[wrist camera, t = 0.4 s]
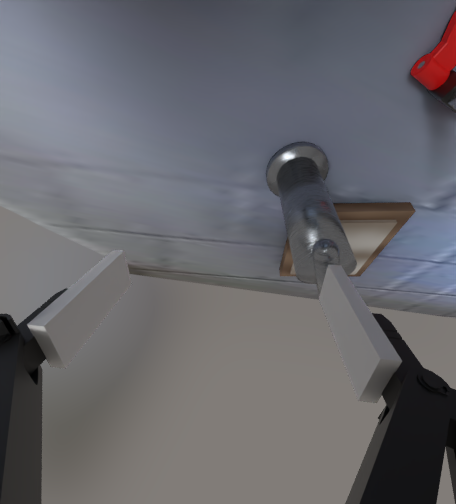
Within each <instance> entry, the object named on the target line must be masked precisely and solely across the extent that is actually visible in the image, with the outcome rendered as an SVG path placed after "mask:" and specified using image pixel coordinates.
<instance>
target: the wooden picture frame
mask: <svg viewBox="0 0 456 504" xmlns="http://www.w3.org/2000/svg"><path fill="white" fill-rule="evenodd" d="M333 205H334V207H335V210H336V212H337V215H338V217H339V220H340V222H341V225H342V227H343V229H344V232H345V234H346V237H347V239H348V242H349V244H350V247H351V249H352V252H353V254H354V257H355V259H356V262H357V266H356V268H355V270H354V271H353V272H352V273H351V274H350V275H348V276H361V274H362V273H363V272H364V271H365V270H366V269H367V267H368V266H369V265H370V264H371V263H372V262H373V260H374V259H375V258H376V257H377V256H378V254H379V253H380V252H381V251H382V250H383V249H384V247H385V246H386V245H387V244H388V243H389V242H390V240H391V239H392V238H393V237H394V236H395V235H396V233H397V232H398V231H399V230H400V229H401V228H402V226H403V225H404V224H405V223H406V222H407V221H408V219H409V218H410V217H411V216H412V215H413V213H414V212H415V209H414V208H413V206H412V204H411V203H410V202H404V203H337V204H333ZM279 270H280V276H296V273H295V269H294V264H293V259H292V254H291V249H290V244H289V239H288V237H287V241H286V245H285V249H284V253H283V257H282V261H281V265H280V269H279Z"/></svg>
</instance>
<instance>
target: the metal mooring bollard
mask: <svg viewBox="0 0 456 504" xmlns="http://www.w3.org/2000/svg"><path fill="white" fill-rule="evenodd" d="M327 173H328V161H327V158H326V156H325V154H324V152H323V151H322V150H321V148H319V147H318V146H317V145H315V144H312V143H309V142H296V143H292V144H290V145H287V146H285V147H283V148H282V149H280V150H279V151H278V152H277V153H276V154H275V155H274V156H273V157H272V158H271V160H270V162H269V164H268V166H267V170H266V177H267V183H268V186H269V188H270V190H271V191H272V192H273V193H274V194H275V195H277V196H279V197H280V200H281V205H282V210H283V215H284V220H285V225H286V230H287V234H288V239H289V244H290V249H291V254H292V259H293V264H294V269H295V273H296V277H297V278H298V279H299V280H300V281H302V282H304V283H308V284H317V288H318V294H319V296H320V292H321V289H322V285H323V282H324V278H325V274H326V271H327V267H328V265H341V266H342V268H343V269H344V271H345V273H346V274H347V276H348V275H350V274H351V273H352V272H353V271H354V270H355V268H356V266H357V262H356V259H355V257H354V254H353V252H352V249H351V247H350V244H349V242H348V239H347V237H346V234H345V232H344V229H343V227H342V225H341V222H340V220H339V217H338V215H337V212H336V210H335V207H334V205H333V202H332V200H331V198H330V195H329V193H328V190H327V188H326V185H325V183H324V180H325V178H326V176H327Z"/></svg>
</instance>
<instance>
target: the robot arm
mask: <svg viewBox="0 0 456 504" xmlns="http://www.w3.org/2000/svg"><path fill="white" fill-rule="evenodd" d="M131 284H132V283H131V279H130V274H129V270H128V265H127V261H126V256H125V252H124V251H123V250H112V251H111V252H110V253H109V254H108V255H107V256H106V257H104V259H102V260H101V261H100V262H99V263H97V264H96V265H95V266H94V267H93V268H92V269H91V270H89V271H88V272H87V273H86V274H85V275H84V276H82V277H81V278H80V279H79V280H78V281H77V282H76V283H74V284H73V285H72V286H71V287H70V288H69V289H64V290H62V291H60V292H58V293H56V294H55V295H54V296H52V297H51V298H50V299H49V300H48V301H47V302H45V303H44V304H43V305H42V306H41V307H40V308H38V309H37V310H36V311H34V312H33V313H32V314H31V315H30V316H28V317H27V318H26V319H25V320H24V321H22V322H21V323H20V324H19V325H18V326H17V325H16V324H15V322H14V320H13V318H12V317H11V316H10V315H8V314H0V504H41V470H42V462H41V461H42V460H41V459H42V455H41V454H42V368H41V366H40V364H41V363H42V362H43V361H44V360H45V359H46V360H47V361H48V363H49V365H50V366H51V367H58V368H66V367H67V366H68V365H69V363H70V362H71V361H72V360H73V358H74V357H75V356H76V355H77V353H78V352H79V351H80V349H81V348H82V347H83V346H84V344H85V343H86V342H87V340H88V339H89V338H90V336H91V335H92V334H93V333H94V332H95V330H96V329H97V328H98V326H99V325H100V324H101V323H102V321H103V320H104V319H105V317H106V316H107V315H108V313H109V312H110V311H111V310H112V309H113V307H114V306H115V305H116V303H117V302H118V301H119V300H120V298H121V297H122V296H123V294H124V293H125V292H126V291H127V289H128V288H129V287H130V285H131ZM319 301H320V303H321V306H322V309H323V311H324V314H325V316H326V319H327V321H328V324H329V327H330V329H331V332H332V334H333V337H334V340H335V342H336V345H337V347H338V350H339V353H340V355H341V358H342V360H343V363H344V365H345V368H346V370H347V373H348V376H349V378H350V381H351V384H352V386H353V389H354V391H355V394H356V397H357V399H358V401H364V402H373V403H377V402H378V400H379V398H380V397H381V395H382V396H383V398H384V400H385V402H386V404H387V405H386V407H385V408H384V409H383V411H382V413H381V414H380V416H379V417H378V419H379V422H378V425H377V427H376V430H375V432H374V435H373V437H372V440H371V442H370V444H369V447H368V449H367V452H366V454H365V457H364V459H363V462H362V464H361V467H360V469H359V471H358V474H357V476H356V479H355V482H354V484H353V486H352V489H351V491H350V494H349V496H348V499H347V501H346V503H345V504H436V502H437V495H438V489H439V483H440V477H441V471H442V464H443V458H444V452H445V446H446V451H447V457H448V463H449V469H450V475H451V480H452V487H453V493H454V499H455V504H456V390H455V389H452V388H450V387H449V385H448V384H447V383H446V382H445V381H444V380H443V379H442V378H441V377H439V376H438V375H436V374H435V373H433V372H432V371H429V370H427V369H425V368H423V367H422V365H421V364H420V362H419V361H418V360H417V358H416V357H415V355H414V354H413V353H412V351H411V350H410V348H409V347H408V346H407V344H406V343H405V341H404V340H402V337H401V336H400V334H399V333H397V330H396V329H395V327H394V326H393V325H392V323H391V322H390V321H389V320H388V319H386V318H385V317H384V316H383V315H382V314H374V313H371V311H370V310H369V308H368V307H367V305H366V304H365V302H364V301H363V299H362V297H361V296H360V294H359V293H358V291H357V290H356V288H355V287H354V285H353V283H352V282H351V280H350V279H349V277H348V276H347V274H346V273H345V271H344V269H343V268H342V266H341V265H328V267H327V271H326V274H325V278H324V282H323V285H322V289H321V292H320V296H319Z"/></svg>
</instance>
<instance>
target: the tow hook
mask: <svg viewBox="0 0 456 504" xmlns="http://www.w3.org/2000/svg"><path fill="white" fill-rule="evenodd" d="M455 66H456V11H455V12H454V14H453V16H452V18H451V20H450V22H449V24H448V26H447V29H446V31H445V33H444V35H443V37H442V40H441V42H440V43H439V44H438V45H437V46H436V47H435V48H434V50H433V51H432V52H431V53H430V54H426V55H424V56H423V57H421V58H420V59H419V60H418V61H417V62H416V63H415V65H414V66H413V68H412V70H411V75H412V76H413V77H414V78H415V79H417V80H418V81H419V82H420V83H421V84H423V85H424V86H425V87H426V88H427V91H428V92H429V93H430V94H432V95H433V96H434V97H435V98H436V99H437V100H439V101H440V102H441V103H442V104H444V105H445V106H447V107H448V108H450V109H451V110H453V111H454V112H455V113H456V72H455V71H453V70H452V69H453V68H454V67H455Z"/></svg>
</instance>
